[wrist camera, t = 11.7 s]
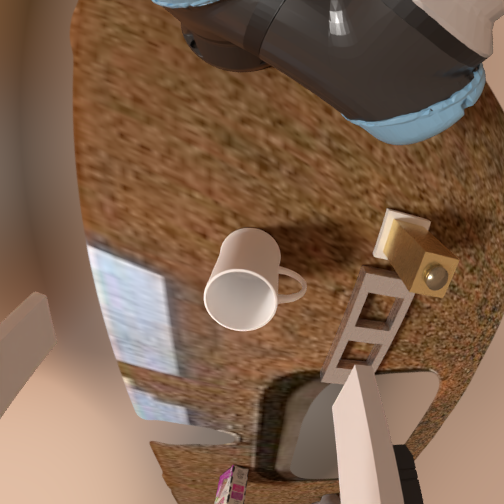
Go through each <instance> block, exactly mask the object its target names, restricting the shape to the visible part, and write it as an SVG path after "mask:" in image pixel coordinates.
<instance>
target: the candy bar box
mask: <svg viewBox="0 0 504 504" xmlns="http://www.w3.org/2000/svg"><path fill="white" fill-rule="evenodd" d="M248 471H249V469H247V468H244V467H240V466H237V465H233V466H232V467H231V468H229V469H228V470H227V471H226V472H225V473H223V474H222V475H221V476H220V479H219V484H218V489H217V494H216V499H215V504H244V500H245V493H246V486H247V479H248Z"/></svg>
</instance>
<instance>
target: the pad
mask: <svg viewBox="0 0 504 504" xmlns="http://www.w3.org/2000/svg"><path fill="white" fill-rule="evenodd" d="M393 219H397V220H401V221H404V222H408V223H412V224H416V225H419V226H423V227H424V228H425V229H427V230H429V227H430V224H431V221H429V220H428V219H424V218H421V217H417V216H414V215H410V214H407V213H403V212H400V211H396V210H392V209H388V208H387V210H386V214H385V217H384V220H383V224H382V227H381V230H380V233H379V236H378V239H377V242H376V245H375V248H374V251H373V255H374V257H377V258H382V259H387V257H386V256H385V254H384V253H383V250H384V247H385V244H386V241H387V238H388V235H389V232H390V229H391V226H392V222H393ZM387 260H388V259H387Z"/></svg>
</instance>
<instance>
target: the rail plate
mask: <svg viewBox="0 0 504 504" xmlns="http://www.w3.org/2000/svg"><path fill="white" fill-rule="evenodd" d="M368 292H369V293H375V294H381V295H386V296H392V297H396V300H395V302H394V304H393V307H392V309H391V311H390V313H389V316H388V318H387V320H386V322H382V321H375V320H368V319H361V318H358V317H359V315H360V312H361V310H362V307H363V305H364V302H365V300H366V297H367V295H368ZM414 295H415V293H412V292H409V291H408V289H407V288H406V286H405V285H404V283H403V281H402V280H401V278H400V277H399V275H398V274H397V272H394V271H389V270H385V269H380V268H375V267H370V266H365V265H362V267H361V270H360V273H359V276H358V279H357V281H356V284H355V287H354V290H353V292H352V295H351V298H350V300H349V303H348V306H347V308H346V311H345V313H344V316H343V319H342V321H341V324H340V326H339V329H338V331H337V333H336V336H335V338H334V341H333V343H332V346H331V348H330V350H329V353H328V355H327V357H326V360H325V362H324V364H323V366H322V369H321V371H320V377H321V382H326V383H336V384H345V383H346V381H347V379H348V377H349V375H350V373H351V371H352V369H353V367H354V365H365V366H372V367H373V371H374V374H375V372H376V370H377V368H378V367H379V365H380V363H381V361H382V359H383V357H384V356H385V354H386V352H387V350H388V348H389V346H390V344H391V342H392V341H393V339H394V337H395V335H396V333H397V331H398V329H399V327H400V325H401V323H402V321H403V318H404V316H405V314H406V312H407V310H408V308H409V306H410V303H411V301H412V299H413V297H414ZM348 340H350V341H357V342H365V343H373V344H375V345H374V347H373V349H372V351H371V353H370V355H369V357H368V359H367V360H366V361H357V360H348V359H340V358H341V356H342V353H343V351H344V349H345V347H346V345H347V342H348Z"/></svg>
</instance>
